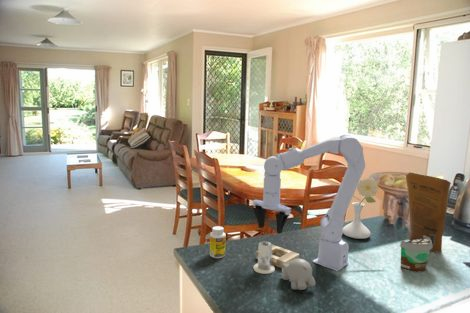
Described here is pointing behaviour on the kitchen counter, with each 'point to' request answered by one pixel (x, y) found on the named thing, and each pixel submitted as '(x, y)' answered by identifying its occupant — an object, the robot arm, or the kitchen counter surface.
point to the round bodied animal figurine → (298, 274)
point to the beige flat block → (281, 256)
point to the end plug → (264, 255)
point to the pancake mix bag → (427, 207)
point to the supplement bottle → (217, 242)
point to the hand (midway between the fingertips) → (270, 229)
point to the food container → (415, 254)
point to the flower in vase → (356, 227)
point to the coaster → (263, 270)
